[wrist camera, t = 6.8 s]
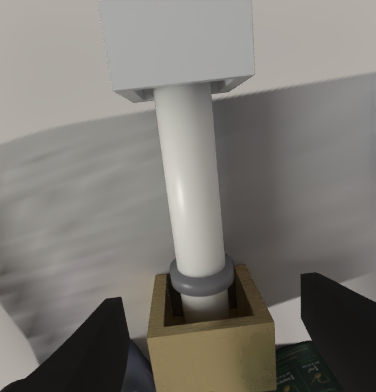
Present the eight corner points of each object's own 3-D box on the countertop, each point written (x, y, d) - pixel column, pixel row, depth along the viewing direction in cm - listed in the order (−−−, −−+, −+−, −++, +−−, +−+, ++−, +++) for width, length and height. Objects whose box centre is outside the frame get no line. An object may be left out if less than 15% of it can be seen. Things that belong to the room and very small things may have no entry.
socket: (155, 275, 21) (146, 338, 15) (245, 264, 21) (274, 322, 15) (163, 327, 22) (159, 405, 16) (248, 316, 22) (276, 389, 16)
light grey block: (111, -39, 16) (72, -141, 10) (218, -51, 16) (244, -158, 10) (133, 102, 18) (112, 90, 12) (228, 92, 18) (255, 74, 12)
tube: (142, 53, 16) (131, 28, 12) (210, 45, 16) (221, 19, 12) (177, 305, 21) (178, 348, 17) (230, 298, 21) (244, 340, 17)
